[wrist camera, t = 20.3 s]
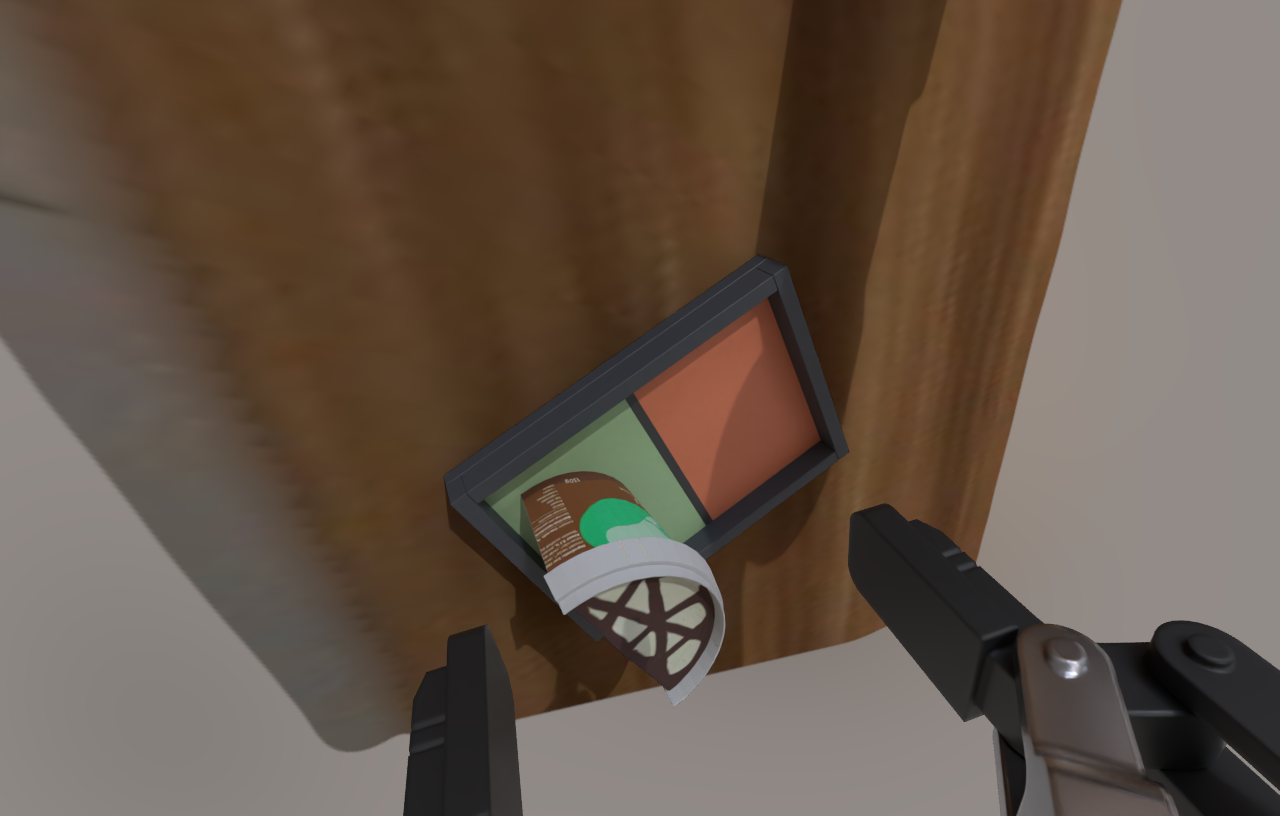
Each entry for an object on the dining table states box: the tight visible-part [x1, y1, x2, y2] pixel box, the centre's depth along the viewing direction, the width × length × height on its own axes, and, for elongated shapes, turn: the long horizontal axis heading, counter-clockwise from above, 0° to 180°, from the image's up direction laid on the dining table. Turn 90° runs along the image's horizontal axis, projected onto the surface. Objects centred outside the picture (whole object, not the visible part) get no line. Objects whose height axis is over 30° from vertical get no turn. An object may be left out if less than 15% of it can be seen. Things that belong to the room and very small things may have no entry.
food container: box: [521, 471, 725, 707], centre depth 32 cm, size 12×6×10 cm, turn 30°
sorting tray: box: [444, 255, 849, 642], centre depth 37 cm, size 22×16×3 cm
